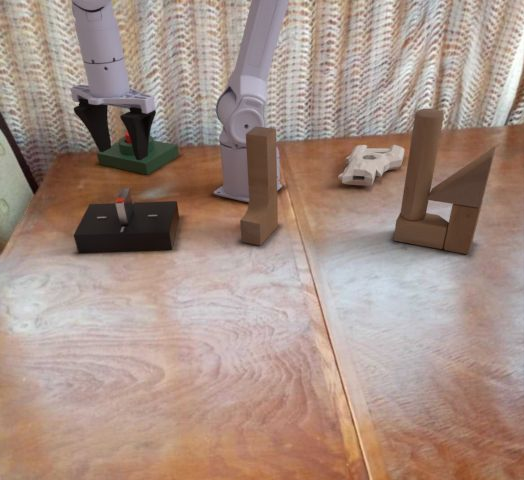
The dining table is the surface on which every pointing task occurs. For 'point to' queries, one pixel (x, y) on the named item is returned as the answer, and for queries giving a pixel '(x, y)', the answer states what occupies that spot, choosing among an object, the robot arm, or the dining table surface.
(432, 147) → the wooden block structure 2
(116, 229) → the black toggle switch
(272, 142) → the wooden block
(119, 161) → the box
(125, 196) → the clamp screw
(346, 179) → the gun
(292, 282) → the dining table surface
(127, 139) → the release button
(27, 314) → the dining table surface
